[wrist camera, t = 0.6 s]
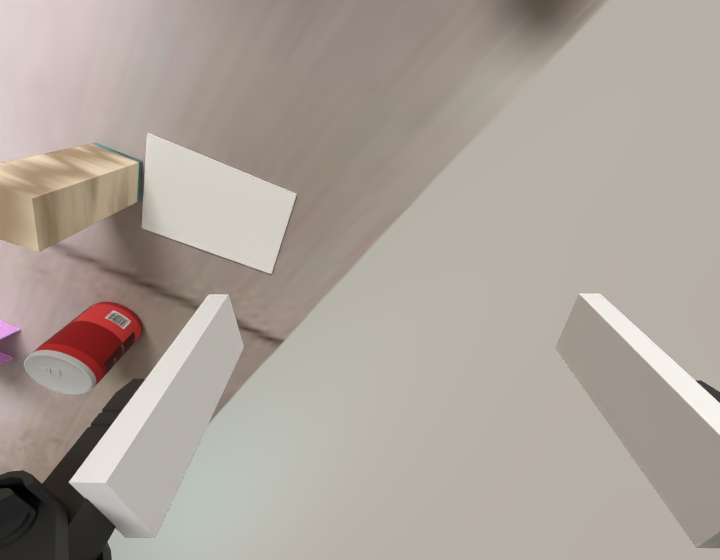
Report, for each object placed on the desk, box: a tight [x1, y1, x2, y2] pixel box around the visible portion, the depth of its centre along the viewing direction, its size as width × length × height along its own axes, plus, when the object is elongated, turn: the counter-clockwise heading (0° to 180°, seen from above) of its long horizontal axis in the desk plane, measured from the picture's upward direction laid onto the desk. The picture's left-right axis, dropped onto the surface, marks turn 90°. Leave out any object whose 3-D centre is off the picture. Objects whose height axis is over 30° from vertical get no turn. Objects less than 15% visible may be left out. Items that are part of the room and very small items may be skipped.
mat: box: [142, 133, 297, 274], centre depth 39 cm, size 17×12×1 cm
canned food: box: [24, 302, 142, 395], centre depth 44 cm, size 8×8×11 cm
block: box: [0, 143, 142, 252], centre depth 31 cm, size 5×5×14 cm
